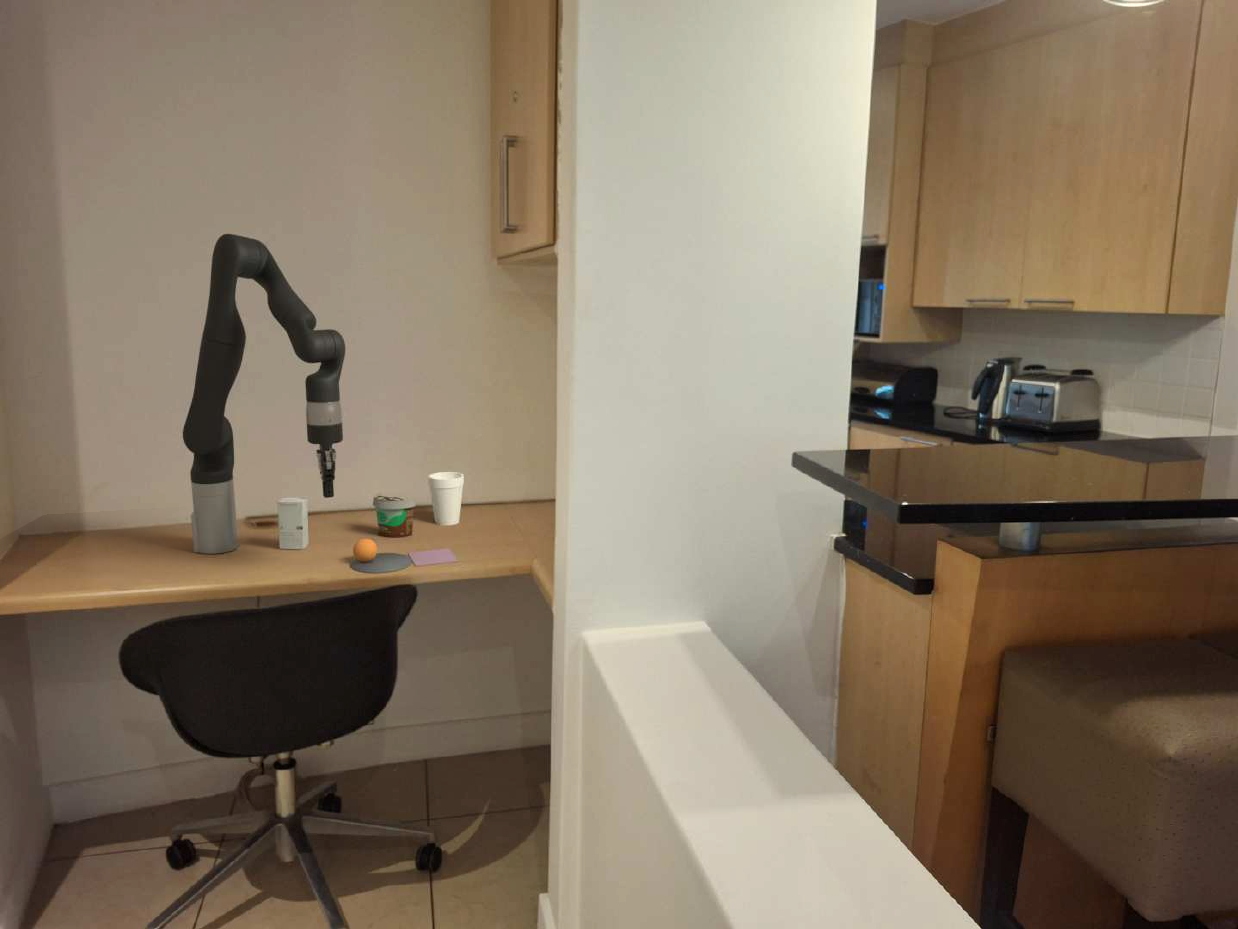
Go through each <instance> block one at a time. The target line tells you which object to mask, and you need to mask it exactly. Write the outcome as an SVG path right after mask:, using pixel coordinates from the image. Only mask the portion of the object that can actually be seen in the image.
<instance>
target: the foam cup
mask: <svg viewBox="0 0 1238 929" xmlns="http://www.w3.org/2000/svg"><path fill="white" fill-rule="evenodd" d="M464 476H465V475H464V474H463V473H462V472H456V471H439V472H433V473H431V474H428V476H427V478H428V481H427V482H428V486H429V491H430V498H431V503H432V510H433V516H434V521H435V524H436V523H437V525H438V524H440V525H439V526H455V525H457V524H459V523H460V519H461V517H460V516H461V507H462V506H461V505H462V499H463V498H462V497H463V489H464V484H465V477H464Z"/></svg>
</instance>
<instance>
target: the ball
mask: <svg viewBox="0 0 1238 929" xmlns="http://www.w3.org/2000/svg"><path fill="white" fill-rule="evenodd" d="M352 553H353V557H354V558H355V559H357V560H359V561H361V562H369V561H371V560H373V559H374V558H375V556H376V554H377V553H378V546H377V544H376V542H375V541H374V540H372V539H369V538H362V539H359V540H357V541H356V542H355V543H354V545H353V547H352Z"/></svg>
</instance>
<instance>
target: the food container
mask: <svg viewBox="0 0 1238 929" xmlns="http://www.w3.org/2000/svg"><path fill="white" fill-rule="evenodd" d="M381 494H382V493H381V492H378V493H376V494H375V495H374V497H373V499H372V500H373V501H372V506H374V507H375V512H376V514H375V515H376V519H377V520H376V521H377V526H378V534H379V536H381V537H383V538H388V539H389V538H390V539H397V538H398V539H399V538H407V537H411V536H413V526H414V525H413V524H414V507H416V501H415V498H414V497H413V498H409V499H403V498H400V497H397V496H393V497H389V496H382V495H381Z"/></svg>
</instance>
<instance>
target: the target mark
mask: <svg viewBox="0 0 1238 929" xmlns="http://www.w3.org/2000/svg"><path fill="white" fill-rule="evenodd" d="M412 563H413V561H412V559H411V558H410V556H409V555H406V554H403V553H397V552H396V553H394V552H379V553H378V552H377V554H376V556H375V558H374V559H373V560H371V561H369V562H361V561H359V560H357V559H356V558H355V559H353V560H352V561H351V562H350V564H349V566H350V568H351V569H352V570H354V571H356V572H360V573H365V574H366V573H367V574H385V573H391V572H397V571H400V570H403V569H406V568H408V567H409V566H412Z"/></svg>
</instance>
